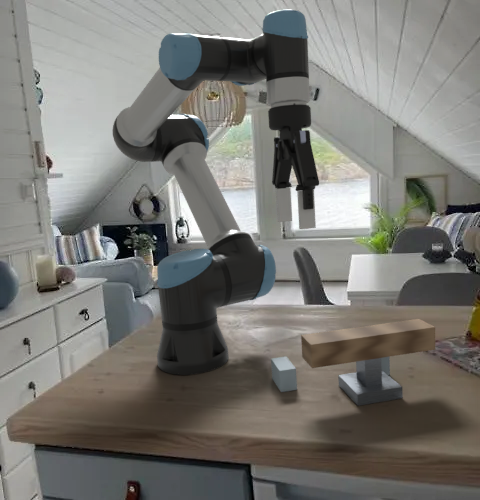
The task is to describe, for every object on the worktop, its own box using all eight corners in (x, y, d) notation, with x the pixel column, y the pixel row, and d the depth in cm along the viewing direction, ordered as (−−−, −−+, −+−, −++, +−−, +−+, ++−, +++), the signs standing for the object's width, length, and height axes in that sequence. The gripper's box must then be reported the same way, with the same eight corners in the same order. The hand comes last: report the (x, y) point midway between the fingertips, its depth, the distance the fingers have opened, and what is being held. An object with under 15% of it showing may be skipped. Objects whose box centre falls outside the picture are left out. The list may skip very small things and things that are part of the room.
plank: (312, 368, 79) (310, 344, 79) (302, 357, 84) (301, 335, 83) (435, 349, 83) (435, 327, 82) (419, 340, 88) (418, 318, 87)
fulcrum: (357, 405, 80) (356, 365, 79) (338, 385, 88) (337, 348, 87) (402, 398, 82) (401, 358, 81) (380, 378, 89) (379, 342, 88)
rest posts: (281, 392, 87) (279, 370, 86) (272, 378, 93) (270, 358, 92) (389, 374, 91) (389, 354, 90) (375, 362, 97) (374, 343, 96)
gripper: (335, 93, 75) (341, 229, 79) (288, 113, 100) (294, 217, 103) (289, 95, 74) (296, 234, 78) (253, 115, 98) (259, 220, 102)
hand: (295, 224), depth 90 cm, fingers open, 13 cm apart
